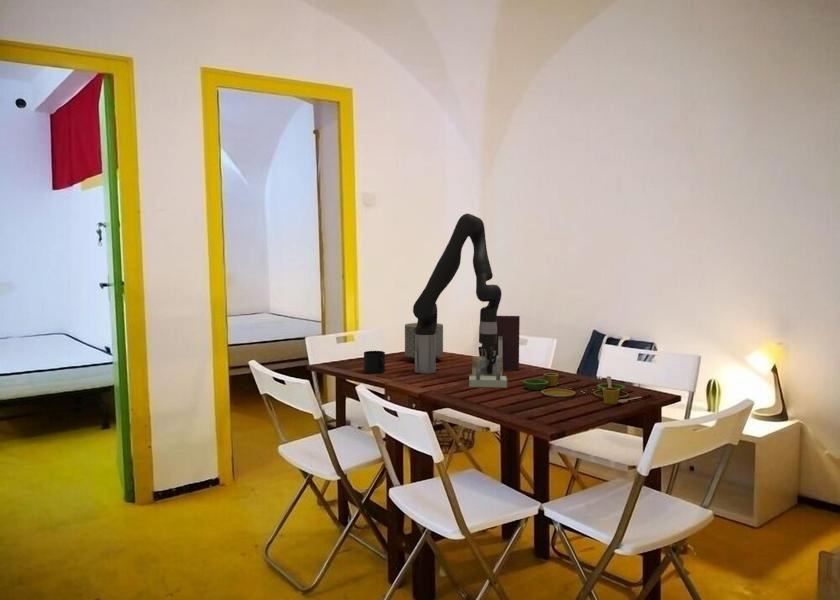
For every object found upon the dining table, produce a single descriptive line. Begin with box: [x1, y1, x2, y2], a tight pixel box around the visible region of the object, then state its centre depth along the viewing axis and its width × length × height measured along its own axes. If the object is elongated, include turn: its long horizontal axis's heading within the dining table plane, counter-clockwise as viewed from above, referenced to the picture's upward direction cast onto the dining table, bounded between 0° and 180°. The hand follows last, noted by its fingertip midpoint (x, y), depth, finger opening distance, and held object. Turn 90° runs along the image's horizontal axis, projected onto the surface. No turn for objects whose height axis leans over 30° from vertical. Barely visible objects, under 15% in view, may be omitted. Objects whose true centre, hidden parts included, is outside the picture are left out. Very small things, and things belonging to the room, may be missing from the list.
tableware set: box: [522, 372, 643, 406], centre depth 243 cm, size 41×28×6 cm
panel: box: [471, 355, 503, 376], centre depth 268 cm, size 12×4×8 cm, turn 109°
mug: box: [363, 350, 386, 375], centre depth 286 cm, size 9×12×9 cm
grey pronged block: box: [468, 366, 508, 389], centre depth 258 cm, size 15×9×7 cm, turn 85°
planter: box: [404, 322, 444, 362], centre depth 317 cm, size 19×19×18 cm
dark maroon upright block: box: [494, 315, 521, 374], centre depth 288 cm, size 17×10×25 cm, turn 84°
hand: (487, 372), depth 269 cm, fingers closed on panel, 4 cm apart
